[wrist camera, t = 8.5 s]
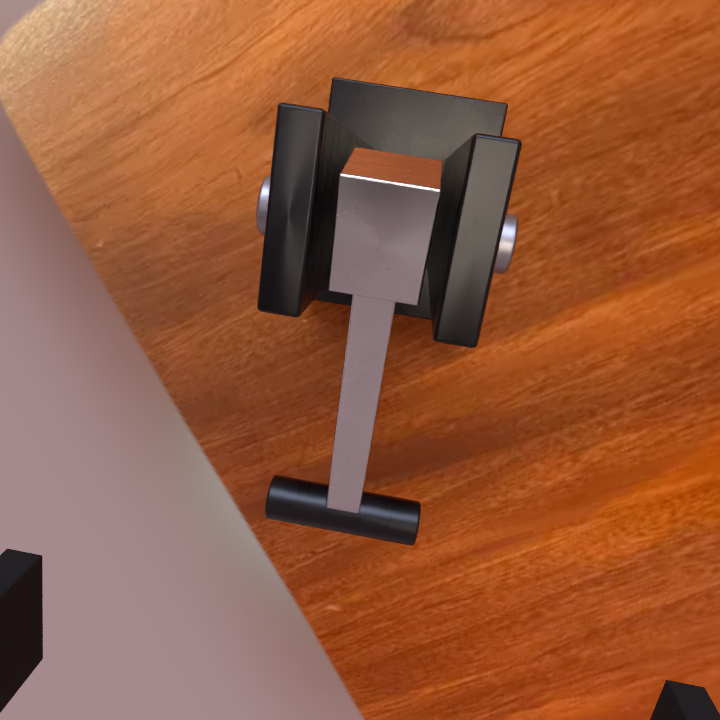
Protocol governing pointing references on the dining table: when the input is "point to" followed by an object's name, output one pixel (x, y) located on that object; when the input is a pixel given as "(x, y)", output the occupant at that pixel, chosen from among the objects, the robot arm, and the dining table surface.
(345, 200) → the switch lever
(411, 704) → the dining table surface
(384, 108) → the switch bracket
